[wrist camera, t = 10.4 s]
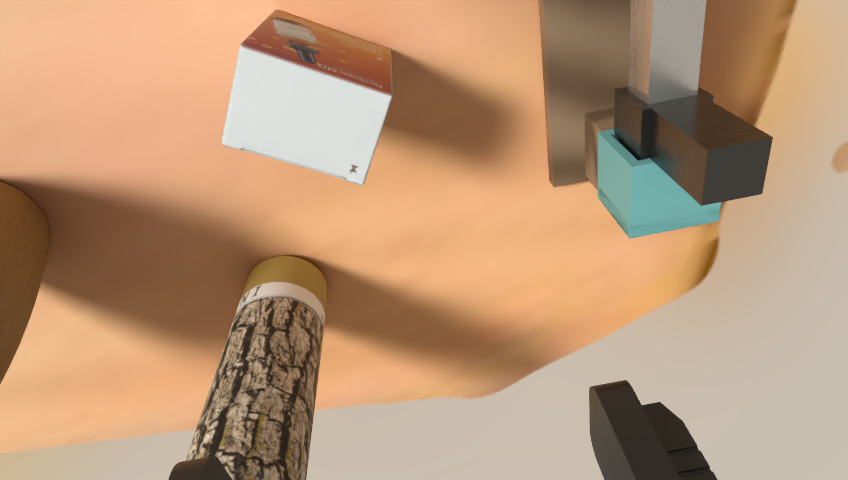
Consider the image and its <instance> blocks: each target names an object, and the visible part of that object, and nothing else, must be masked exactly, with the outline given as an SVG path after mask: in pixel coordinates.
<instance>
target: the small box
mask: <svg viewBox="0 0 848 480" xmlns="http://www.w3.org/2000/svg"><path fill="white" fill-rule="evenodd" d="M392 97H393V84H392V60H391V50H390V49H389V48H386V47H382V46H379V45H376V44H373V43H370V42H367V41H364V40H361V39H358V38H355V37H352V36H349V35H346V34H344V33H341V32H338V31H335V30H333V29H330V28H327V27H325V26H322V25H319V24H316V23H314V22H311V21H308V20H305V19H302V18H300V17H297V16H294V15H291V14H289V13H286V12H283V11H280V10H274V11H273V12H272V13H271V14H270V15H269V16H268V17H267V18H266V19H265V20H264V21H263V22H262V23H261V24H260V25H259V26H258V27H257V28H256V29H255V30H254V32H253V33H252V34H250V35H249V36H248V37H247V38H246V39H245V40H244V41H243V42H242V43H241V44H240V47H239V53H238V58H237V63H236V68H235V73H234V79H233V84H232V89H231V95H230V100H229V105H228V110H227V116H226V121H225V127H224V132H223V138H222V144H223V145H224V146H227V147H231V148H235V149H239V150H244V151H248V152H252V153H255V154H259V155H262V156H266V157H269V158H273V159H277V160H280V161H284V162H287V163H291V164H294V165H298V166H301V167H305V168H308V169H311V170H315V171H318V172H321V173H325V174H328V175H331V176H335V177H338V178H341V179H344V180H346V181H349V182H352V183H355V184H358V185H364V183H365V180H366V176H367V173H368V170H369V167H370V164H371V161H372V158H373V155H374V152H375V149H376V146H377V143H378V140H379V137H380V134H381V131H382V128H383V124H384V121H385V118H386V115H387V112H388V109H389V106H390V103H391V100H392Z"/></svg>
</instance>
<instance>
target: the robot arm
mask: <svg viewBox="0 0 848 480" xmlns="http://www.w3.org/2000/svg"><path fill="white" fill-rule="evenodd" d="M589 405H590V436H591V441H592V446H593V449H594V453H595V456H596V459H597V462H598V464H599V467H600V469H601V472H602V475H603V477H604V480H717V478H716V476H715V475H714V473H713V472H711V470H710V467H709V465H708V463H707V461H706V460H705V458H704V456H703V454H702V453H701V451H699V450H698V448H697V444H696V443H695V441H694V439H693V438H692V436H691V435H690V433H689V431H688V429H687V428H686V426H685V424H684V423H683V421H682V420H681V419H679V418H678V417H677V416H676V415H674V414H673V413H672V412H671V411H670V410H669V409H667V408H666V407H665V406H664V405H663V404H662V403H660V402H657V403H652V404H647V405H641V403H640V401H639V400H638V398H637V396H636V394H635V392H634V390H633V388H632V387H631V385H630V384H629V383H628V382H627V381H626V380H623V381H618V382H613V383H607V384H602V385H597V386H592V387H590V389H589ZM169 480H232V478H231V477H230V475H229V474H228V472H227V471H226V469H225V468H224V466H223V464H222V463H221V461H220V460H219V459H218V458H217V457H216V456H210V457H205V458H199V459H194V460H189V461H183V462H179V463H178V464H176V465H175V466H174V468H173V470H172V472H171V474H170V477H169Z"/></svg>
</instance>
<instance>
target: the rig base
mask: <svg viewBox="0 0 848 480" xmlns="http://www.w3.org/2000/svg"><path fill="white" fill-rule="evenodd" d="M630 6H631V0H539V10H540V27H541V44H542V61H543V78H544V95H545V112H546V129H547V146H548V163H549V180H550V182H551V184H552V185H553V187H557V186H563V185H568V184H573V183H578V182H583V181H588V180H590V182H591V183H592V184H593V185H594V187H595V188H596V189H597V191H598V132H600V131H605V130H610V129H614V101H615V89H617V88H622V87H627V86H628V77H629V42H630Z"/></svg>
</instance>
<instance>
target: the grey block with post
mask: <svg viewBox="0 0 848 480" xmlns="http://www.w3.org/2000/svg"><path fill="white" fill-rule="evenodd" d="M706 2H707V0H631V6H630V42H629V77H628V86H627V87H622V88H617V89H615V101H614V134H615V135H616V136H617V137H618V138H619V139H620V140H621V141H622V142H623V143H624V144H625V145H626V146H627V147H628V148H629V149H630V150H631V154H632V155H633V156H634V157H635V158H636V159H637V160H638V161H639V160H644V159H649V158H650V159H651V160H652V161H653V162H654V163H655V164H656V165H658V166H659V167H660V168H661V169H662V170H663V171H664V172H665V173H666V174H667V175H668V176H669V177H671V178H672V179H673V180H674V181H675V182H676V183H677V184H678V185H679V186H680V187H681V188H682V189H684V190H685V191H686V192H687V193H688V194H689V195H690V196H691V197H692V198H693V199H694V200H695V201H697V202H698V203H699V204H700V205H701V206H703V205H708V204H713V203H718V202H724V201H729V200H734V199H739V198H744V197H749V196H754V195H759V194H762V192H763V186H764V181H765V175H766V170H767V165H768V160H769V154H770V149H771V144H772V138H773V137H771V136H770V135H768V134H766V133H764V132H763V131H761V130H759V129H758V128H756V127H754V126H752V125H751V124H749V123H747V122H746V121H744V120H742V119H741V118H739V117H737V116H735V115H734V114H732V113H730V112H729V111H727V110H725V109H723V108H722V107H720V106H718V105H717V104H715V103H713V95H712V94H710V93H708V92H706V91H704V90H703V89H701V88H699V87H698V81H699V71H700V61H701V51H702V41H703V32H704V22H705V12H706Z"/></svg>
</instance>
